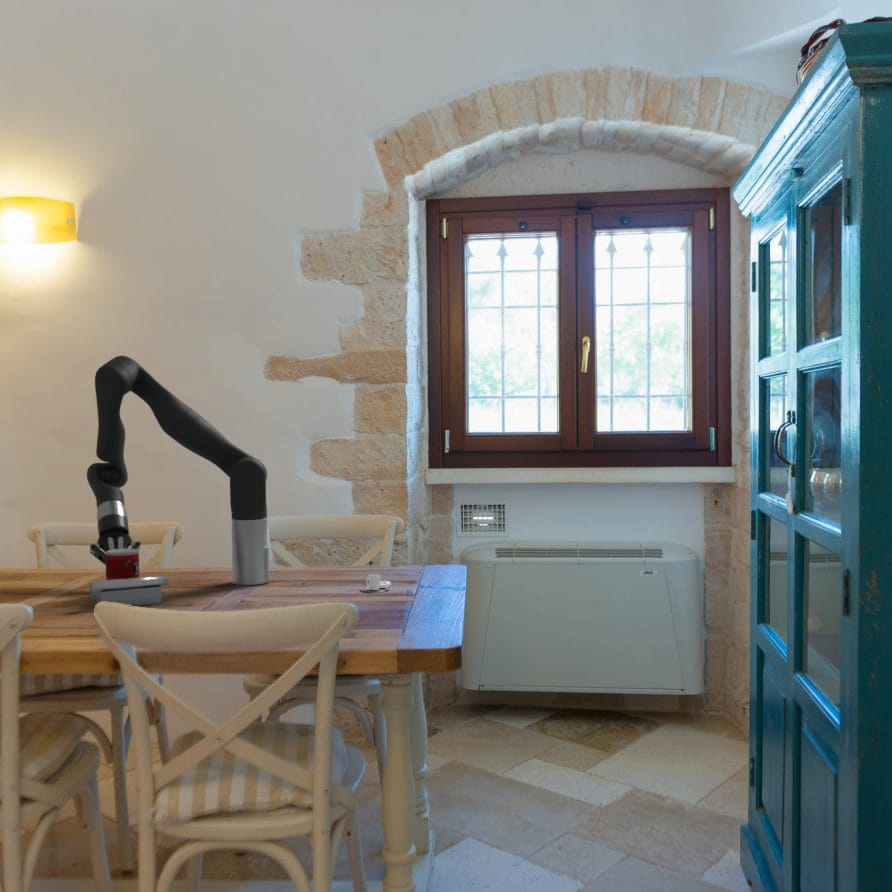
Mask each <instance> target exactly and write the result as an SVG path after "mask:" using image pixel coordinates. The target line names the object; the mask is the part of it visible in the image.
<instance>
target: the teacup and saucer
mask: <svg viewBox="0 0 892 892" xmlns="http://www.w3.org/2000/svg"><path fill="white" fill-rule="evenodd" d="M365 583H366V587H369V588H368V589H370V590H371V589H379V588H380V587H389V586H390V587H391V585H392V582H390V581H389V580H382V574H377V573H374V574H369V575H368V577H367V578H366V579H365ZM390 587H389V588H390ZM379 590H380V589H379Z"/></svg>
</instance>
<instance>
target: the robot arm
mask: <svg viewBox="0 0 892 892" xmlns="http://www.w3.org/2000/svg"><path fill="white" fill-rule="evenodd" d="M94 388H95V397H96V407H97V419H98V423H97V424H98V426H97V438H96V447H95V448H96V449H95V451H96V452H95V453H96V457H97V459H99V461H102V462H94V463H92V464H91V465H90V466H89V467H88V468H87V470H86V479H87V482H88V485H89V487H90V489H91V490H92V493H93V495H94V496H95V500H96V510H97V511H96V522H97V532H98V539H97V542H96V543H93V544H90V547H89V553H90V554H91V555H93V557H95V559H97V560H98V561H100V562H101V563H102V564H103V565H105V566H106V551H108V550H113V549H126V548H129V547H130V548H129V549H137V550H139V551H140V549H141V542H140V541H134V540H133V538H132V537H131V536H130V531H129V530H130V528H129V520H128V518H129V517H128V514H127V510H126V504H125V499H124V498H125V497H124V493H123V491H122V489H121V488H123V487H124V486H125V485H126V484H127V482H128V479H129V474H128V469H127V467H126V462H125V456H124V455H125V454H124V452H125V443H126V429H125V425H124V423H123V421H122V417H121V407H122V402H123V398H124V396H125V395H127V394H128V393H129V392H132V393H133V394H135V395H136V396H137V397H138V398H139V399H141V400H143V401H144V402H145V403H146V404H147V405H148V407H149V408H150V410H151V412H152V413H153V416H154V417H155V419H156V421H157V423H158V425H159V427H160V428H161V429H162V431H163V432H164V433H165V434H166V435H167V436H168V437H170V438H172V439H173V440H174V441H175V442H176V443H177V444H179V445H181V446H182V447H183V448H185V449H187V450H189V451H190V452H191V453H194V454H195V455H197V456H199V457H201V458H203V459H205V460H207V461H209V462H210V463H212V464H213V465H215V466H216V467H217V468H219V470H221V471H222V472H223V473H224V474H225V475H226V476H227V477H228V478H229V498H230V500H229V503H230V512H231V559H232V560H231V561H232V562H231V565H232V567H231V568H232V569H231V570H232V574H231V575H232V576H231V577H232V584H233V585H237V586H256V585H263V584H269V583H270V574H269V573H270V572H269V567H270V566H269V564H270V563H269V546H268V506H267V480H268V471H267V468H266V466H265V464H264V463H263V462H262V461H261V460H260V459H258V458H256V457H254V456H252V455H251V454H249V453H247V452H246V451H244V450H242V449H241V448H240V447H238V446H237V445H235V444H233V442H231V441H230V440H228V438H227V437H226V436H224V435H223V433H222V432H220V431H219V430H218V429H217V428H216V427H215V426H213V424H211V423H210V422H209V421H208V420H206V419H205V418H204V417H203V416H202V415H201V414H200V413H198V412H197V411H195V410H194V409H193V408H192V407H190V406H188V405H187V404H186V403H184V402H183V401H182V400H181V399H179V398H178V397H177V396H176V395H175V394H173V393H172V392H171V391H169V390H168V389H167V388H165V386H164V385H162V384H161V383H160V382H159V381H158V380H156V379H155V378H154V377H153V376H152V375H151V374H150V373H149V372H148V370H146V369H145V368H144V367H143V366H142V365H141V364H140V363H139V362H137V361H136V360H134V359H133V358H131V357H129V356H127V355H118V356H115V357H113V358H110V360H109V361H107V362H106V363H104V364H102V365H101V366H100V367H99V368H98V369H97V370H96V372H95V375H94Z"/></svg>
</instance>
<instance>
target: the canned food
mask: <svg viewBox="0 0 892 892" xmlns="http://www.w3.org/2000/svg"><path fill="white" fill-rule="evenodd" d="M105 554H106V565H105V580H117V579H128V578H140V550H137V549H130V548H129V547H128V548H126V549H113V550H108V551H106V552H105Z"/></svg>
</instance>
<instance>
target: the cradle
mask: <svg viewBox="0 0 892 892" xmlns="http://www.w3.org/2000/svg"><path fill="white" fill-rule="evenodd" d="M169 580H170V579H169V575H168V574H166V575H153V576H142V577H141V576H139V578H128V579H117V580H106V579H104V580H96V581H95V580H94V581H91V582H90V586H89V587H90V588H89V589H90V600H91V601H96V602H101V601H108V602H117V603H123V604H130V605H138V606H146V605H147V606H149V605H157V604H159V605H160V604H162V601H163V600H162V587H163V586H164V587H165V586H169V584H170V581H169Z"/></svg>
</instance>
